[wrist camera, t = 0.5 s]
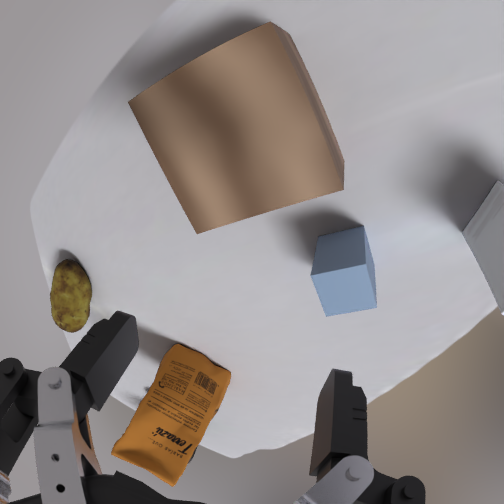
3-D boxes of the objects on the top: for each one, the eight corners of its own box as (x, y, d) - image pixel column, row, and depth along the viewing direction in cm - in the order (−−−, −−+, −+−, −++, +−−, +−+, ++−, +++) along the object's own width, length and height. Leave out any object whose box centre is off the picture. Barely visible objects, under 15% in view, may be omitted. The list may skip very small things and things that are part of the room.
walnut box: (290, 34, 23) (270, 21, 17) (344, 160, 28) (343, 189, 22) (174, 91, 29) (128, 102, 22) (227, 198, 34) (196, 234, 27)
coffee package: (217, 392, 56) (173, 491, 39) (161, 359, 55) (105, 454, 38) (241, 374, 50) (194, 491, 33) (177, 335, 49) (111, 448, 32)
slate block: (363, 225, 31) (365, 263, 25) (374, 265, 33) (376, 307, 27) (318, 236, 33) (310, 275, 28) (331, 274, 35) (326, 316, 30)
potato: (105, 276, 47) (75, 307, 40) (97, 317, 54) (73, 345, 48) (68, 248, 46) (37, 275, 40) (65, 292, 54) (40, 318, 47)
